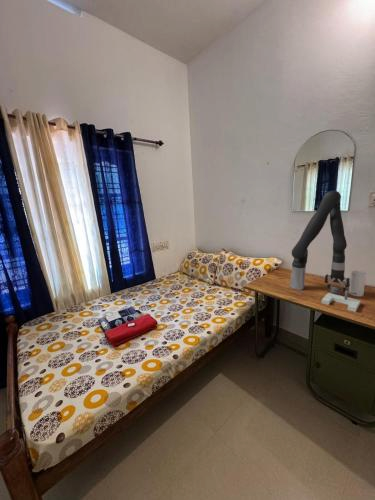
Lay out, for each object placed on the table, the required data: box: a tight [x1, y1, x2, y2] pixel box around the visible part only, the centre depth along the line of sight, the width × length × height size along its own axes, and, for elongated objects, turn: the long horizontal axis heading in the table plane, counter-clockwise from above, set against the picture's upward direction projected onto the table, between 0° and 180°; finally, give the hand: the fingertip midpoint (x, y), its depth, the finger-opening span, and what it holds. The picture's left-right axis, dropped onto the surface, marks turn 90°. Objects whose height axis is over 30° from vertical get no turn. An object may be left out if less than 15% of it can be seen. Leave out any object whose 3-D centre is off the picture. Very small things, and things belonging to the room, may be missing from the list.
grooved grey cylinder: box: [329, 285, 341, 296], centre depth 152 cm, size 5×5×6 cm
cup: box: [348, 269, 367, 297], centre depth 150 cm, size 8×8×16 cm
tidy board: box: [321, 289, 361, 313], centre depth 139 cm, size 18×14×8 cm
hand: (336, 290), depth 151 cm, fingers open, 8 cm apart
